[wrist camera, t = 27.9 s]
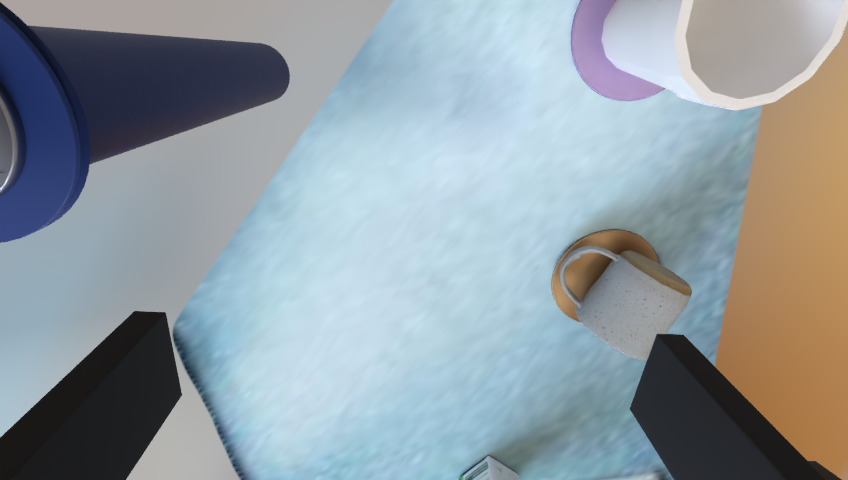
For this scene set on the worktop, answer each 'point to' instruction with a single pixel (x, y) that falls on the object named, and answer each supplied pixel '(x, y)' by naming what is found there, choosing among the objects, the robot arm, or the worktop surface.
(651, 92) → the lilac coaster
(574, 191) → the worktop surface
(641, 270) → the ceramic mug
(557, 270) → the cork coaster
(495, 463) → the syrup box
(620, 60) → the foam cup
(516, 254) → the worktop surface
